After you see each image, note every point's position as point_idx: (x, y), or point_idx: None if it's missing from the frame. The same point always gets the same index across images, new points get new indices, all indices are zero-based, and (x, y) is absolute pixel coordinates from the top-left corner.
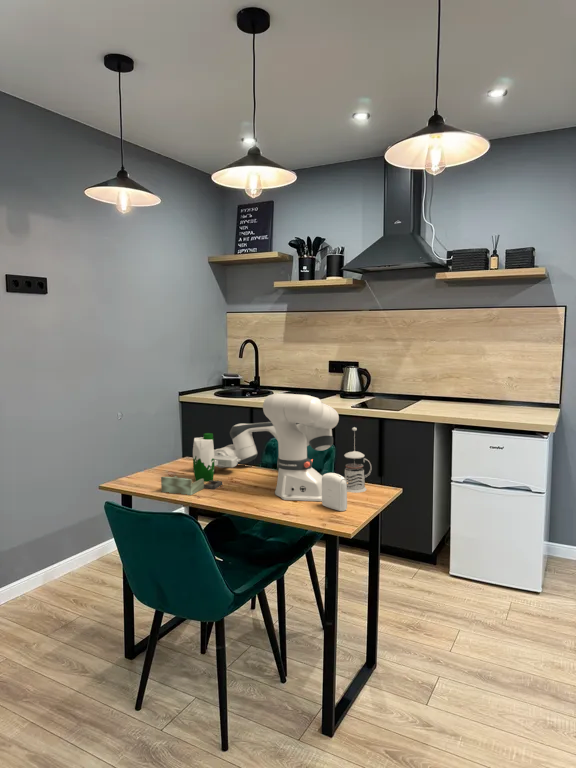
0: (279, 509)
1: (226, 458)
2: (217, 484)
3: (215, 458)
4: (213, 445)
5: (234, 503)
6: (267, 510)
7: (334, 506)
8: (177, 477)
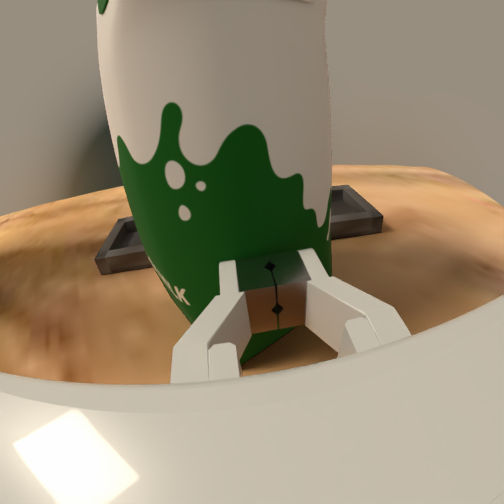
0: (6, 226)
1: (3, 417)
2: (110, 234)
3: (233, 384)
4: (97, 38)
5: (65, 207)
6: (21, 216)
7: None
8: (364, 215)
